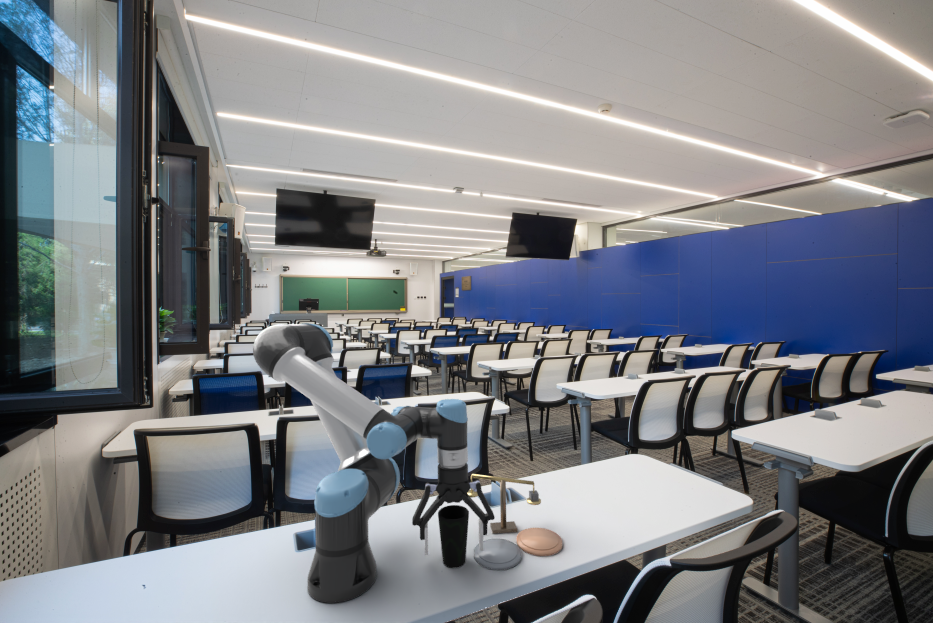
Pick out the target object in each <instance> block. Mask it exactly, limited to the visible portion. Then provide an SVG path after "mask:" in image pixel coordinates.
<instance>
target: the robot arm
mask: <svg viewBox="0 0 933 623" xmlns="http://www.w3.org/2000/svg"><path fill="white" fill-rule="evenodd" d="M333 347H334V341H333V338H332V336H331V334H330V332H328V330H327V329H325V327H323V326H321V325H319V324H313V323H307V322H304V323H297V324H296V323H293V324H292V323H291V324H290V323H289V324H288V323H287V324H283V323H282V324H281V323H280V324H273V325H271V326H268V327H266V328H264V329H262V330H261V332H259V333H258V335H257V336H256V337H255V340H254V342H253V345H252V354H253V357H254V358H253V359H254V360H255V361H254V362H255V363H256V364H257V366H258V367H259V368H260V369H261V370H262V371H263V372H264V373H265V374H266V375H267V376H268V377H270V378H271V379H273V380H274V381H275V382H279V383H282V382H285V383H286V384H288V385H289V386H291V387H292V388H294V389H295V390H296V391H297V392H299V393H301V394H303V395H304V396H305V397H306V398H307V399H309V400H310V403H311V404H312V406H313V407H314V410H315V412H316V414H317V415H318V418H319V421H320V423H321V424H322V427H323V428H324V430H325V433H326V435H327V436H328V438H329V441H330V442H331V444H332V446H333V448H334V451H335V453H336V454H337V457H338V459H339V461H340V464H339V466H338V468H337V469H338V470H337V471H333V472H332V473H329V474H327V475H326V476H324V477H323V478H322V479H321V480H320V481H319V482H318V484H317V485H316V489H315V496H314V497H315V498H314V501H313V503H314V517H315V518H314V519H315V520H314V521H315V523H314V524H315V529H314V530H315V535H314V536H315V552H314V555H313V558H312V561H311V565H310V569H309V572H308V574H307V593H308V594H309V596H310V597H311V598H312V599H313V600H315V601H318V602H320V603H325V604H327V603H328V604H332V603H334V604H335V603H342V602H343V603H344V602H347V601H350V600H353V599H355V598H357V597H360V596H361V595H363V594H365V593H366V592H367V591H368V590H369V589H370V588H371V587H372V586H373V585H374V583H375V581H376V579H377V563H376V559H375V556H374V553H373V550H372V548H371V545H370V543H369V519H370V518H371V517H373V515H374V514H375V513H376V512H377V511H379V509H380V508H381V507H382V506H384V505H385V504H386V503H388V502H389V501H390V500H391V499H392V497H393V496H394V494H395V493H396V492H397V490H398V488H399V485H400V482H401V481H400V480H401V476H400V475H401V472H400V469H399V467H398V463H396V461H395V460H394V459H393V457H395V456H397V455H399V454H400V453H402V451H403V450H405V448H407V447H408V446H409V445H411V444H413V443H414V442H415V441H417V440H418V439H429V440H431V439H432V440H435V439H436V441H437V442H436V444H437V447H436V448H437V452H436V453H437V457H436V458H437V463H438V464H437V483H436V484H431V483H430V482H426V483H425V486H424V493H423V494H422V497H421V499H420V501H419V503H418V505H417V507H416V510H415V512H414V514H413V516H412V520H411V521H412V522H411V523H412V526H418V527H419V538H420V541H424V556H429V529H428V528H429V527H428V526H429V525H428V524H429V523H428V522H429V521H430V520H431V519H432V517H433V516H434V515H435V514H436V512H437V511H439V508H440V507H442V506H443V505H444V503H447V504H452V503H456V504H457V503H460V502H462V501H463V503H464V504H465V505H467V506H468V507H469V509H470V510H471V511H472V512H473V513H474V514H475V515H476V516H477V517H478V543H479V547H480V551H484V550H483V541H484V536H488V524H489V521H494V520H495V517H496V516H495V514H494V512H493V511H494V510H492V508H491V506H490V504H489V502H488V500H487V498H486V495H485V494H484V491H483V490H482V484H481V482H480V479H475V480H474V481H472V482H471V481H469V464H468V461H469V457H468V456H469V455H468V454H469V453H468V452H469V451H468V421H469V420H468V412H467V404H466V402H465V401H464V400H461V399H459V398H450V399H449V398H447V399H446V398H445V399H441V400H439V401H437V403H436V407H421V406H411V405H405V406H396V407H395V408H393V410H392V412H391V413H390V412H389V411H387V410H385V409H384V408H383V407H381V406H380V405H378V404H377V403H375V401H373V400H371V399H369V398H368V397H367V396H365V395H364V394H362V393H360V392H359V391H358V390H356V389H355V388H353V387H352V386H351V385H349V384H347V382H344V381H343V380H342V379H340V378H339V377H338V376H337V375H336V373H335V371H334V369H333V367H332V366H333V363H334V360H335V359H334V356H333ZM303 395H302V396H303ZM471 488H472V489H473V491H475V492H476V491H477V494H478V496H477V497H478V498H479V501H480V502H481V504H482V505H483V508H484V509H485V511H486V513H485V512H484V511H483V510H482V509H481V508H480V506H479V505H478V504H477V503H476V502H475V501H474V500H473V499H472V498H471V497H470V496H469V495H468V494H467V493H468V491H469V490H471ZM435 491H436V492H437V494H438V495H437V496H436V498H435V499H434V501H433V502H432V503H431V505H430V506H429V507H428V509H427V510H426V511H425V512H424V510H425V507H426V505H427V503H428V501H429V499H430V495H433V494H434V492H435ZM423 512H424V514H423ZM422 514H423V515H422Z"/></svg>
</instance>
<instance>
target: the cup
mask: <svg viewBox="0 0 933 623" xmlns="http://www.w3.org/2000/svg"><path fill="white" fill-rule="evenodd" d="M469 516H470V511H469V509H468V508H467V507H465V506H463V505H458V504H457V505H456V504H451V505H445V506H444V507H441V508H440V509H438V512H437V517H438V527H439V538H440V546H441V547H440V548H441V555H442V557H441V558H442V563H443V565H444V566H445V567H447V568H450V569H457V568H461V567H463V566H464V565H465V563H466V560H467V559H466V558H467V544H468V531H469V519H470V518H469Z"/></svg>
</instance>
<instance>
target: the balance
mask: <svg viewBox="0 0 933 623" xmlns="http://www.w3.org/2000/svg"><path fill="white" fill-rule="evenodd" d="M473 479H478V480H480V479H481V480H486V481H487V480H489V481H497V482H499V494H500V496H499V497H500V498H499V499H500V504H499V505H500V508H499V509H500V521H498V522H490V523H489V524H490V525H489V526H490V530H491V532H492V535H494V534H497V535H498V534H509V533H510V534H511V533H518V527H517V524H516V522H515V521H513V520H511V521H507V486H506V485H507V483H512V484H513V483H514V484H515V483H516V484H523V485H529V486H532V490H528V497H527V498H526V503H527V504H528V505H531V506H539V505H541V503H542V499H541V498H539V496H540V495H539V494H540V493H539V492H538V491H537V490H535V482H534V480H525V479H518V478H510V477H509V478H508V477H501V476H500V477H499V476H494V475H486V474H485V475H484V474H477V473H471V475H470V483H471V482H473ZM467 494H468V495H469V496H470V498H471V499H472V498H476V497H479V496H478V494H477V491H476V492H475V491H473V489H472V488H470V490H469V491H468V493H467Z"/></svg>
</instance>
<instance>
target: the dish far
mask: <svg viewBox="0 0 933 623" xmlns="http://www.w3.org/2000/svg"><path fill="white" fill-rule="evenodd" d="M516 545H518V546H519V548H520V549H521V552H524V553H526V554H528V555H531V556H536V557H549V556H550V557H551V556H554V555H557V554H558V553H559V552H561V550H562V549H563V538H562V537H561V535H560V534H559V533H557V532H556V531H554V530H552V529H548V528H544V527H528V528H525V529H522V530H521V531H519V532H517V535H516Z"/></svg>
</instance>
